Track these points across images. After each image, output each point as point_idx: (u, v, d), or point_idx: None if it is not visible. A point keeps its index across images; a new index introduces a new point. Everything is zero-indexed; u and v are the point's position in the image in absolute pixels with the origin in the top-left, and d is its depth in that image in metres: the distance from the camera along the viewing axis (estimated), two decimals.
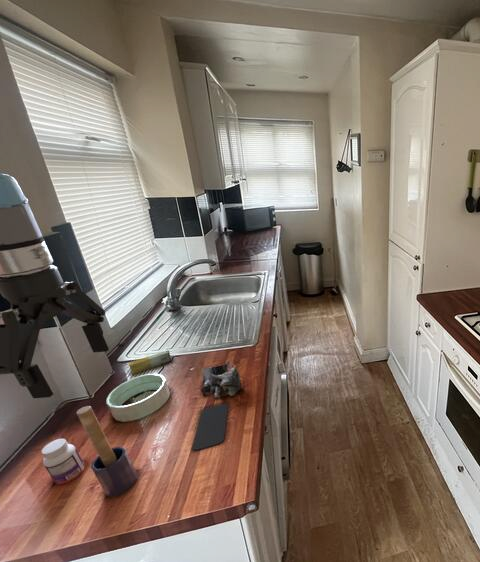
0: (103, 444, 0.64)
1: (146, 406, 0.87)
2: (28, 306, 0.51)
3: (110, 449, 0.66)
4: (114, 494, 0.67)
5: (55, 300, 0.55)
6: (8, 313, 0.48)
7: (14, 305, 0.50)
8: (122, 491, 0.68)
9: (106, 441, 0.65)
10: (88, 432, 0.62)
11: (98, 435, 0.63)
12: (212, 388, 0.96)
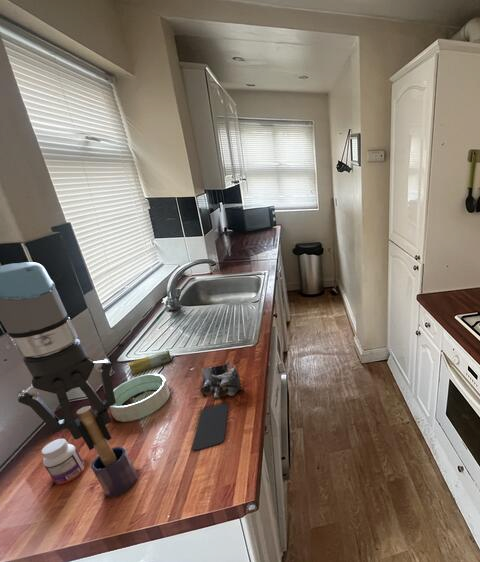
0: (103, 444, 0.64)
1: (146, 406, 0.87)
2: (39, 383, 0.55)
3: (110, 449, 0.66)
4: (114, 494, 0.67)
5: (73, 374, 0.57)
6: (19, 399, 0.53)
7: None
8: (122, 491, 0.68)
9: (106, 441, 0.65)
10: (88, 432, 0.62)
11: (98, 435, 0.63)
12: (212, 388, 0.96)
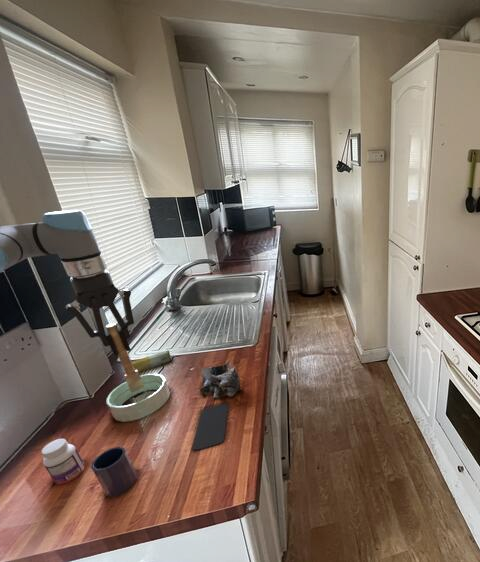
0: (124, 353, 0.86)
1: (146, 406, 0.87)
2: (81, 299, 0.76)
3: (129, 359, 0.87)
4: (114, 494, 0.67)
5: (104, 295, 0.79)
6: (68, 308, 0.75)
7: (77, 295, 0.76)
8: (122, 491, 0.68)
9: (126, 352, 0.86)
10: (114, 342, 0.84)
11: (121, 346, 0.85)
12: (211, 388, 0.96)
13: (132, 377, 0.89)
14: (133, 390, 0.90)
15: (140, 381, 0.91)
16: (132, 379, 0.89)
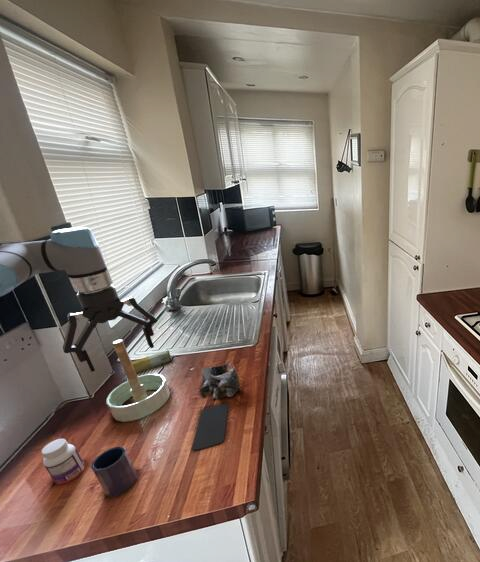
0: (130, 369, 0.88)
1: (146, 406, 0.87)
2: (87, 313, 0.78)
3: (135, 374, 0.89)
4: (114, 494, 0.67)
5: (109, 310, 0.80)
6: (70, 316, 0.75)
7: (83, 310, 0.78)
8: (122, 491, 0.68)
9: (132, 367, 0.88)
10: (120, 358, 0.86)
11: (127, 361, 0.87)
12: (211, 389, 0.96)
13: (137, 391, 0.91)
14: None
15: (145, 395, 0.93)
16: (137, 393, 0.91)
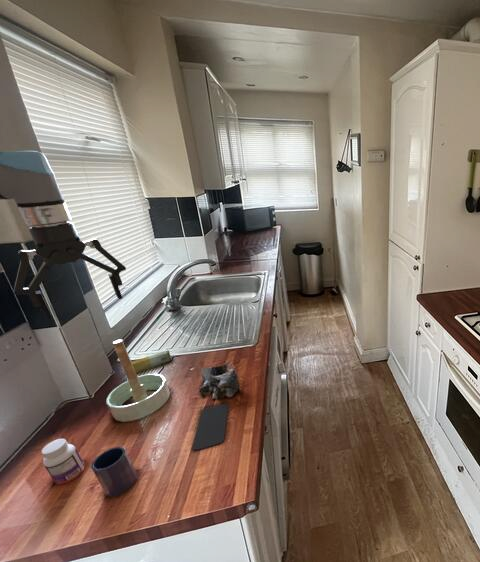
0: (130, 369, 0.88)
1: (146, 406, 0.87)
2: (42, 250, 0.69)
3: (135, 374, 0.89)
4: (114, 494, 0.67)
5: (67, 250, 0.72)
6: (20, 252, 0.67)
7: (37, 247, 0.70)
8: (122, 491, 0.68)
9: (132, 367, 0.88)
10: (120, 358, 0.86)
11: (127, 361, 0.87)
12: (210, 389, 0.96)
13: (137, 391, 0.91)
14: None
15: (145, 395, 0.93)
16: (137, 393, 0.91)
